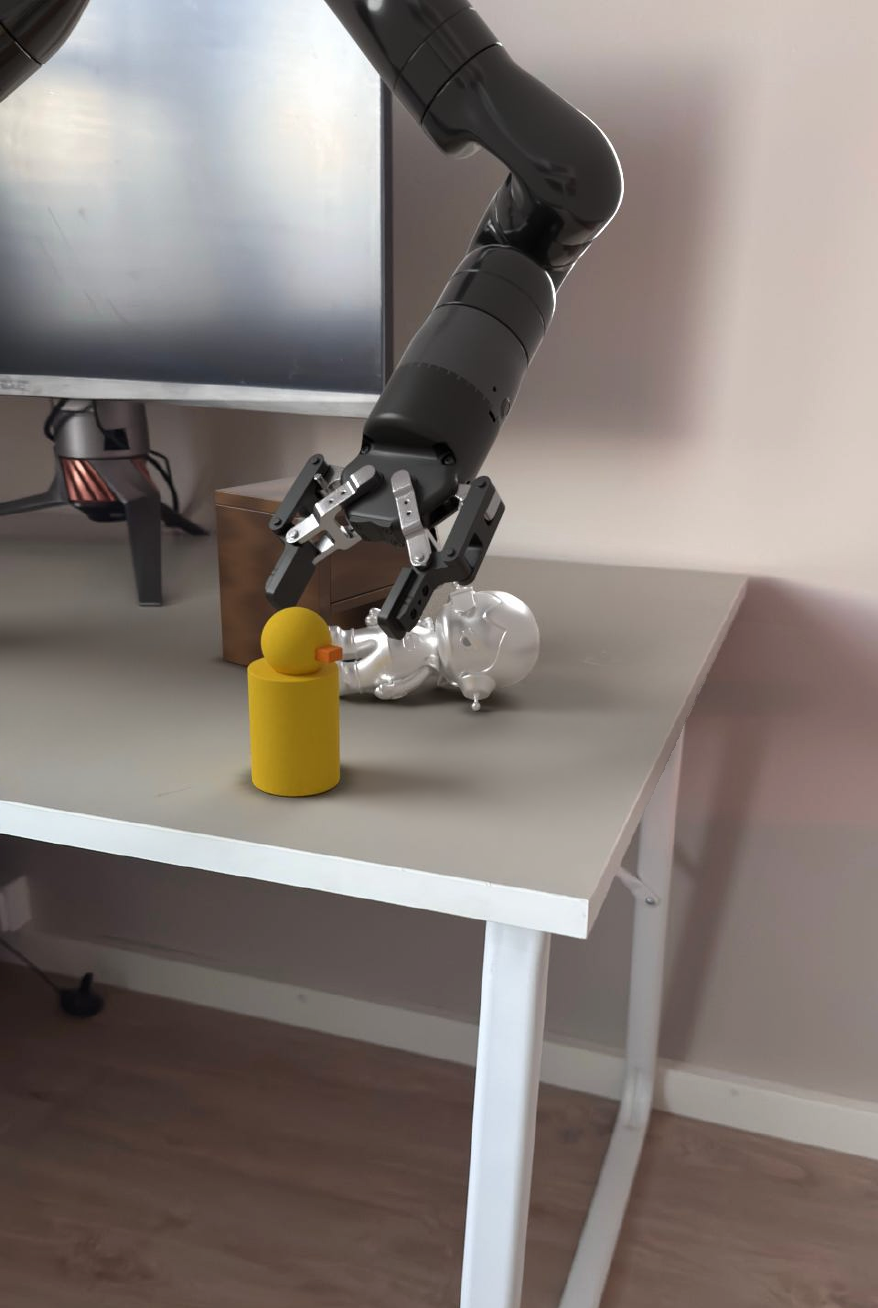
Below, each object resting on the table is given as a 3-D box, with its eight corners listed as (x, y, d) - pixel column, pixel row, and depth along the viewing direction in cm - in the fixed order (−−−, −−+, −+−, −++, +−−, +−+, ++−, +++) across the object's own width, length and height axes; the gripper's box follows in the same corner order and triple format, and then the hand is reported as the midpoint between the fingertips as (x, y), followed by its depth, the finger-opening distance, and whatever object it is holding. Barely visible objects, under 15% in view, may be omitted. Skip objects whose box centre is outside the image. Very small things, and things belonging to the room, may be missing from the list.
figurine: (315, 577, 83) (525, 540, 82) (334, 628, 89) (529, 595, 89) (329, 711, 79) (550, 674, 78) (348, 753, 85) (552, 720, 85)
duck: (233, 782, 69) (225, 608, 65) (292, 756, 73) (288, 591, 69) (308, 807, 66) (304, 627, 62) (365, 778, 70) (365, 607, 66)
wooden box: (222, 660, 91) (214, 489, 86) (323, 627, 100) (321, 472, 95) (321, 686, 86) (318, 506, 81) (418, 649, 95) (421, 486, 90)
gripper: (330, 352, 74) (208, 564, 69) (524, 365, 66) (401, 604, 62) (382, 432, 80) (272, 631, 76) (565, 453, 72) (454, 675, 68)
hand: (330, 619), depth 69 cm, fingers open, 8 cm apart
